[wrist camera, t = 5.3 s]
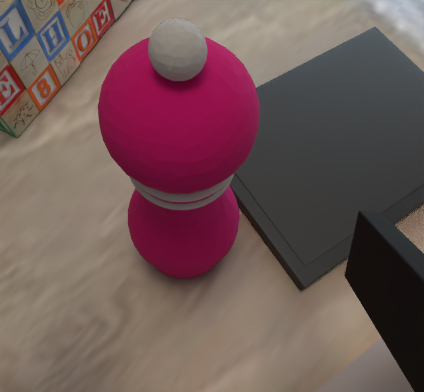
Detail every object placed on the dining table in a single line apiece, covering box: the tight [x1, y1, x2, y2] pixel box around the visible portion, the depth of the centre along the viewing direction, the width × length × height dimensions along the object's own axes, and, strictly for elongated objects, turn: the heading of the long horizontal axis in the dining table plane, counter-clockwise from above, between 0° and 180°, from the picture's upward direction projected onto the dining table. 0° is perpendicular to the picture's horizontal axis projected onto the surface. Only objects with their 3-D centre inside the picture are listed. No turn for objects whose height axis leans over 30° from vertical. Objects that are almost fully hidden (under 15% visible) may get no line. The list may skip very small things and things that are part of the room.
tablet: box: [229, 27, 424, 290], centre depth 32 cm, size 22×16×1 cm
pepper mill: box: [98, 18, 260, 278], centre depth 20 cm, size 7×7×20 cm
